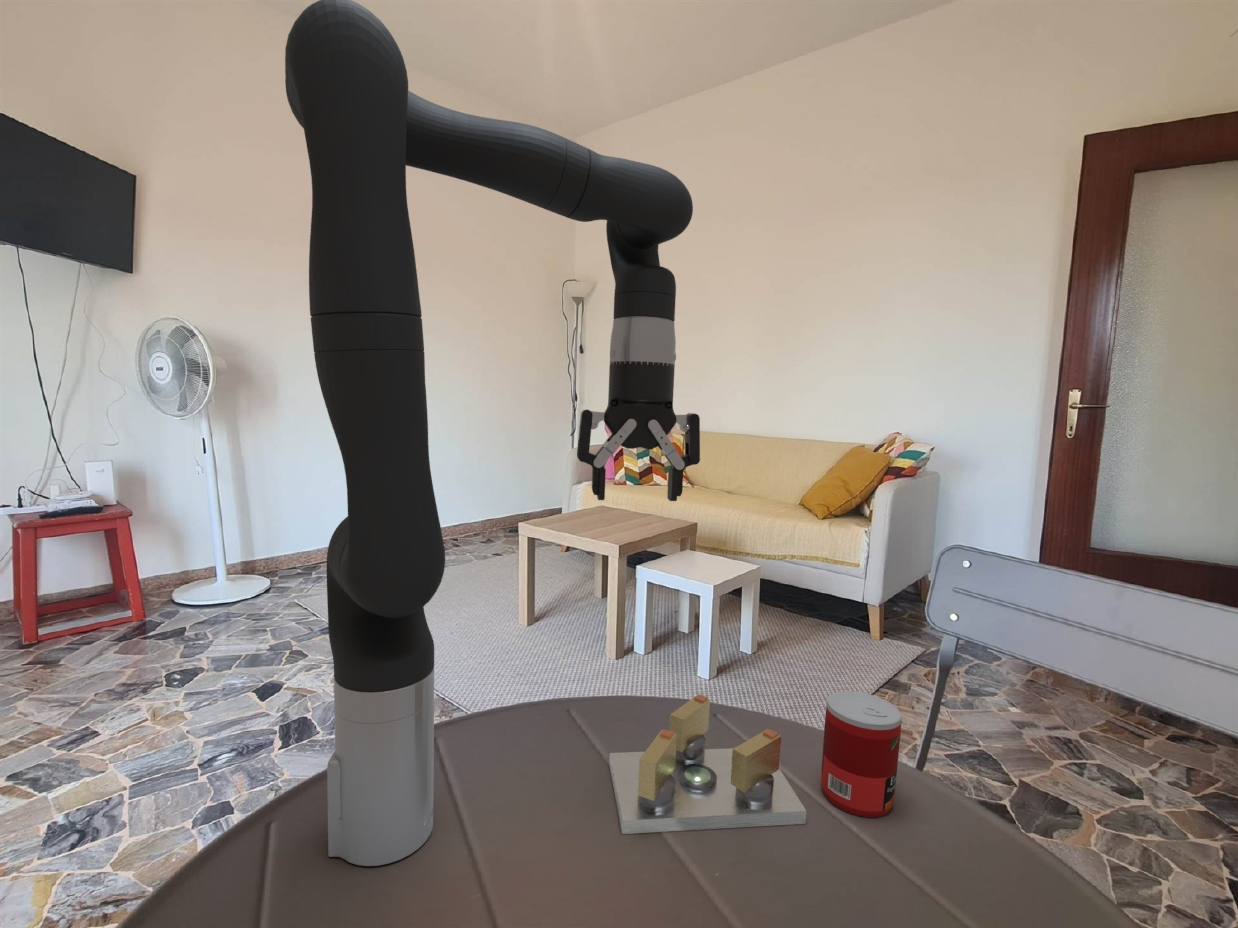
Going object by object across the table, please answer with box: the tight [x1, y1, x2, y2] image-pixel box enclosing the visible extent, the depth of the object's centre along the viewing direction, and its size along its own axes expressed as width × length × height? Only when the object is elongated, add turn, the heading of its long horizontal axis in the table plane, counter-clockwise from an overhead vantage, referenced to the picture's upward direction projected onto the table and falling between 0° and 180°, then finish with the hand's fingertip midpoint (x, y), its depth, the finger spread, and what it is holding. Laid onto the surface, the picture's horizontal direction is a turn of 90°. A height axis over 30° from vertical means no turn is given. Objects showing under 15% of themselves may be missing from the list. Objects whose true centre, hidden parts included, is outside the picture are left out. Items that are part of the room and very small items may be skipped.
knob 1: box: [638, 728, 677, 815], centre depth 65 cm, size 6×4×7 cm, turn 155°
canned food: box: [820, 690, 902, 818], centre depth 69 cm, size 8×8×11 cm
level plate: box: [608, 747, 807, 835], centre depth 69 cm, size 20×12×2 cm, turn 97°
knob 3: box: [731, 728, 782, 810], centre depth 66 cm, size 6×4×7 cm, turn 132°
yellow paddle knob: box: [668, 694, 711, 766], centre depth 73 cm, size 6×4×7 cm, turn 142°
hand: (636, 499), depth 71 cm, fingers open, 8 cm apart
